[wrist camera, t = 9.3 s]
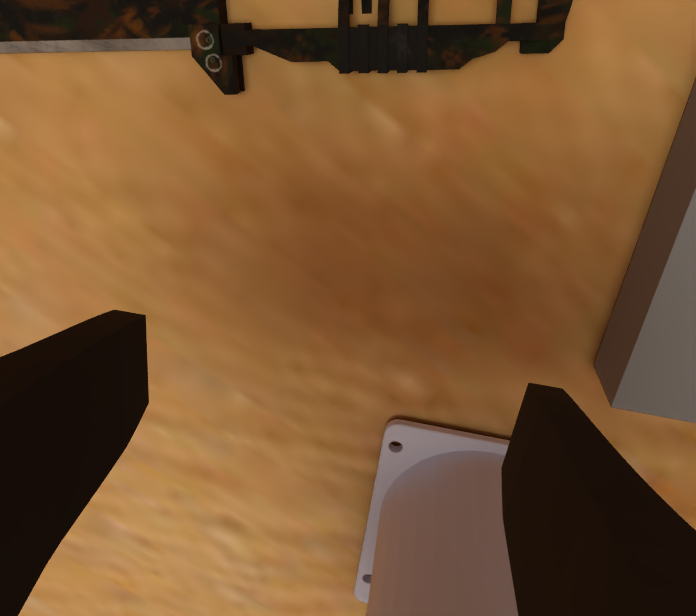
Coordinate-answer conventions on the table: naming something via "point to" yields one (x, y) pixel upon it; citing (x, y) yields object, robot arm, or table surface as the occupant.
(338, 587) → the table surface
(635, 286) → the socket block
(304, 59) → the knife
